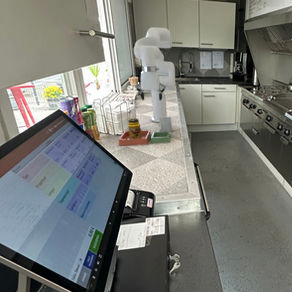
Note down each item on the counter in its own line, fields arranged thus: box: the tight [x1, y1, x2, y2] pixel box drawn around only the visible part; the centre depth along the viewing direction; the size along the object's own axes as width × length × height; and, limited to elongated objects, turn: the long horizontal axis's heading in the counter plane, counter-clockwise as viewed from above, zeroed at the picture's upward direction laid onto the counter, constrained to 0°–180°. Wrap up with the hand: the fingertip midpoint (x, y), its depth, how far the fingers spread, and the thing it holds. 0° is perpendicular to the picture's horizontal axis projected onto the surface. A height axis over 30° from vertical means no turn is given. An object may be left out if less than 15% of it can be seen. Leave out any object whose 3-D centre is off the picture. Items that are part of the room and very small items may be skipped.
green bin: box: [150, 131, 171, 144], centre depth 138 cm, size 11×9×4 cm
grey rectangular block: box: [159, 116, 173, 133], centre depth 151 cm, size 4×7×10 cm, turn 113°
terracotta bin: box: [118, 129, 152, 146], centre depth 136 cm, size 16×14×4 cm
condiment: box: [127, 118, 144, 139], centre depth 135 cm, size 7×8×12 cm
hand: (151, 100), depth 139 cm, fingers open, 9 cm apart
